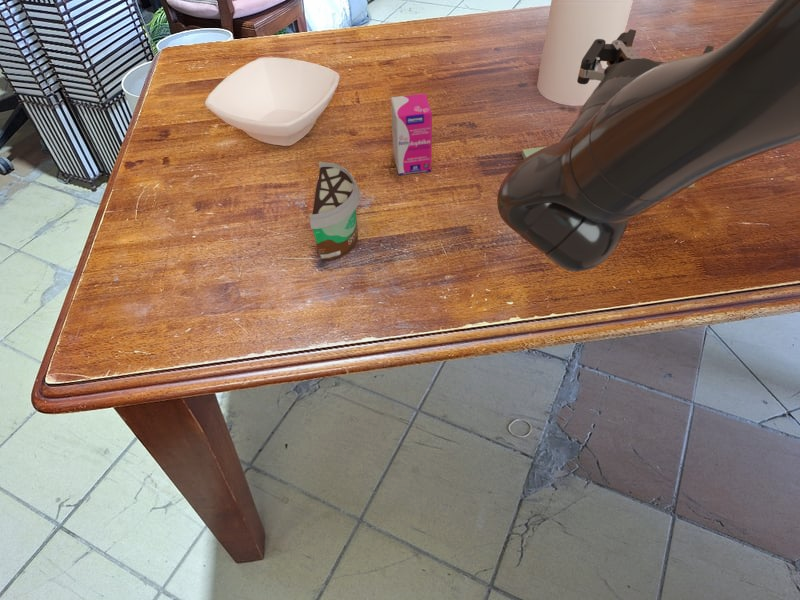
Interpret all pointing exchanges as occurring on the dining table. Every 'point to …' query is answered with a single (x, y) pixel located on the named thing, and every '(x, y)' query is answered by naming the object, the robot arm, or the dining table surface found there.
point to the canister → (577, 45)
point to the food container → (335, 212)
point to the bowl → (274, 98)
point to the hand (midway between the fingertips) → (668, 45)
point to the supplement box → (411, 133)
